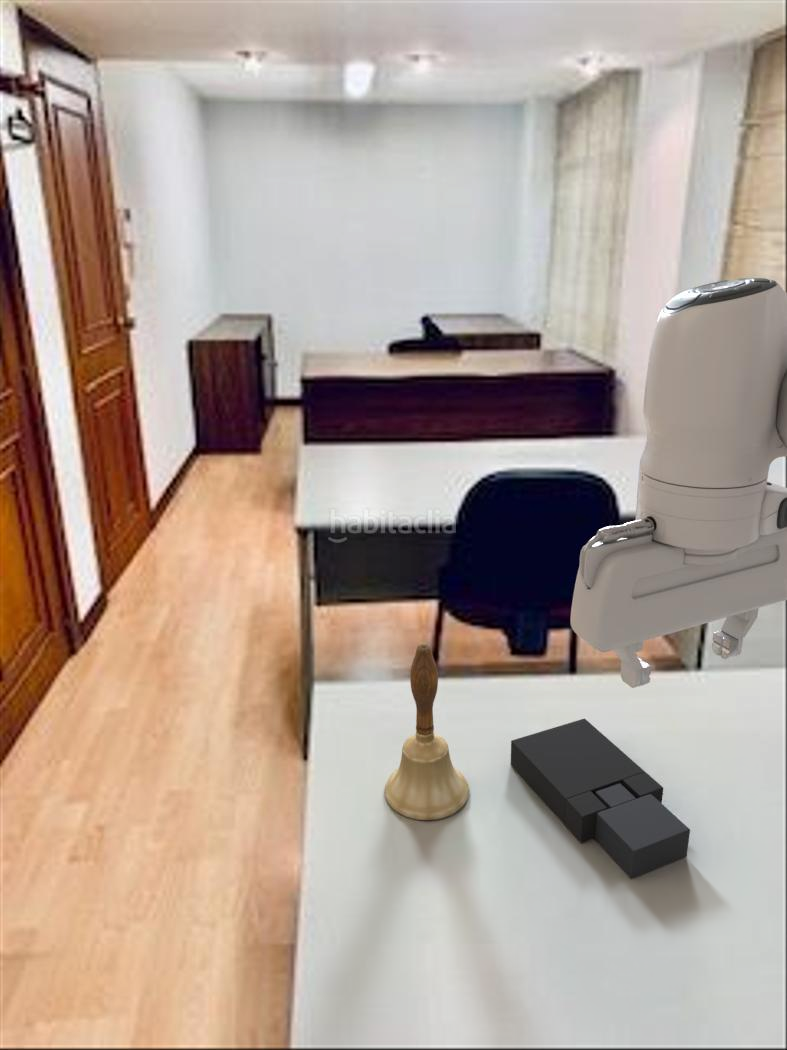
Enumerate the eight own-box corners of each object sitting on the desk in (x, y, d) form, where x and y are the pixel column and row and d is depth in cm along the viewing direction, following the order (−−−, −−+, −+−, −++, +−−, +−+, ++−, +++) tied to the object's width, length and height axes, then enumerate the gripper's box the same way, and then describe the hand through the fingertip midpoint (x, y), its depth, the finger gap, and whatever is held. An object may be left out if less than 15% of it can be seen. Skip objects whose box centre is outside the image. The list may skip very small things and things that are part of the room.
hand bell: (370, 780, 76) (363, 640, 71) (441, 754, 80) (439, 619, 74) (409, 833, 69) (405, 682, 64) (485, 802, 73) (487, 657, 67)
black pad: (582, 741, 81) (584, 718, 80) (660, 813, 71) (663, 787, 70) (510, 764, 78) (510, 740, 77) (580, 843, 68) (582, 816, 67)
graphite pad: (631, 803, 72) (634, 778, 71) (686, 857, 66) (690, 829, 65) (578, 822, 70) (580, 796, 69) (630, 879, 64) (633, 851, 63)
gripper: (611, 547, 50) (600, 722, 55) (831, 497, 58) (804, 656, 63) (556, 519, 56) (551, 680, 61) (763, 476, 63) (744, 624, 68)
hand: (681, 667), depth 62 cm, fingers open, 8 cm apart
